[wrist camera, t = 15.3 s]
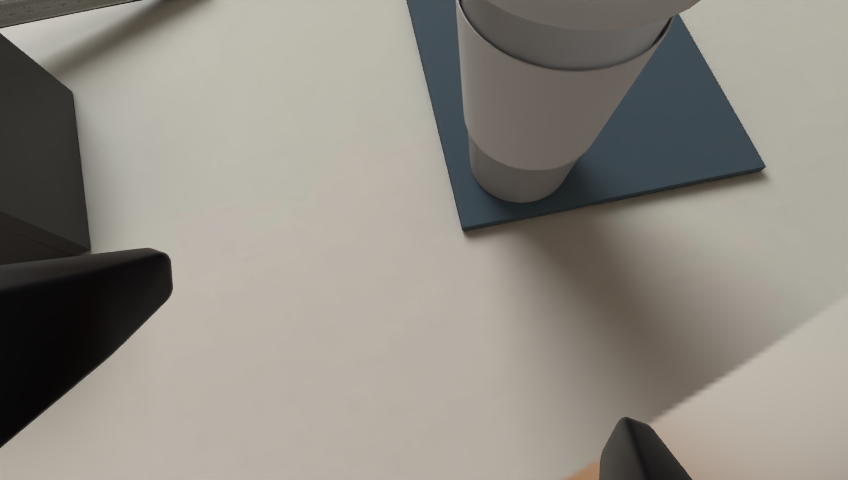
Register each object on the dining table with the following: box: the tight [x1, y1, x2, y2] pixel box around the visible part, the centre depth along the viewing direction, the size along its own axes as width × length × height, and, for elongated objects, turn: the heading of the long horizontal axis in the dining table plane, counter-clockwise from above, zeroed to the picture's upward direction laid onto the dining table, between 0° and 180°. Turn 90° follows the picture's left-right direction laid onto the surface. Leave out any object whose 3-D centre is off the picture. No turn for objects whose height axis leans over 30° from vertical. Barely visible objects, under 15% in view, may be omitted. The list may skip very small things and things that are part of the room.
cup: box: [456, 0, 700, 203], centre depth 14 cm, size 7×7×12 cm
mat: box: [407, 0, 766, 231], centre depth 22 cm, size 16×14×1 cm
